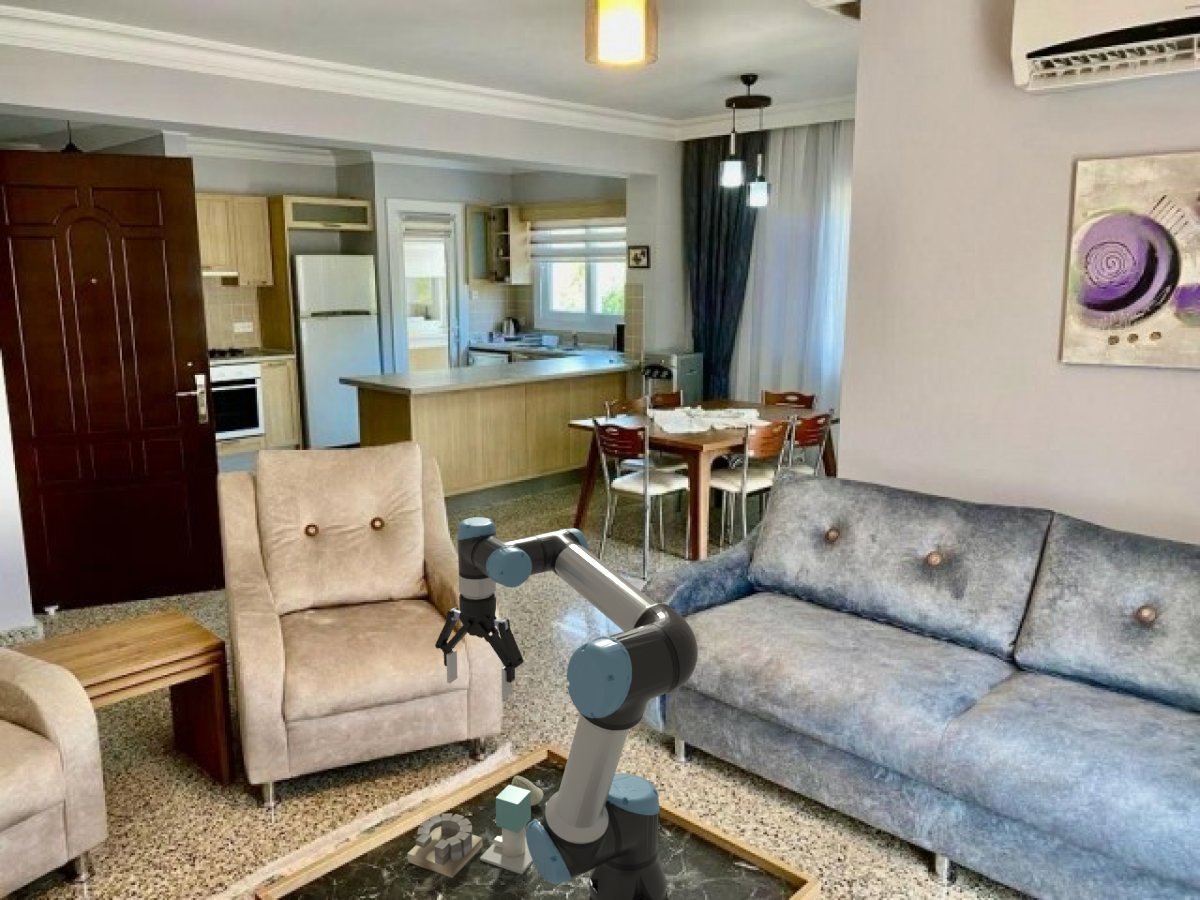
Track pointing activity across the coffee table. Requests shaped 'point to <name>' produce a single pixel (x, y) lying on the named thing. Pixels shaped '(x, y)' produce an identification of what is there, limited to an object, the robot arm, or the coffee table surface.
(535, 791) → the seashell
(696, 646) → the robot arm
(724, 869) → the coffee table surface
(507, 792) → the plug
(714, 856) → the coffee table surface
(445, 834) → the socket
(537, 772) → the coffee table surface
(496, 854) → the mat
